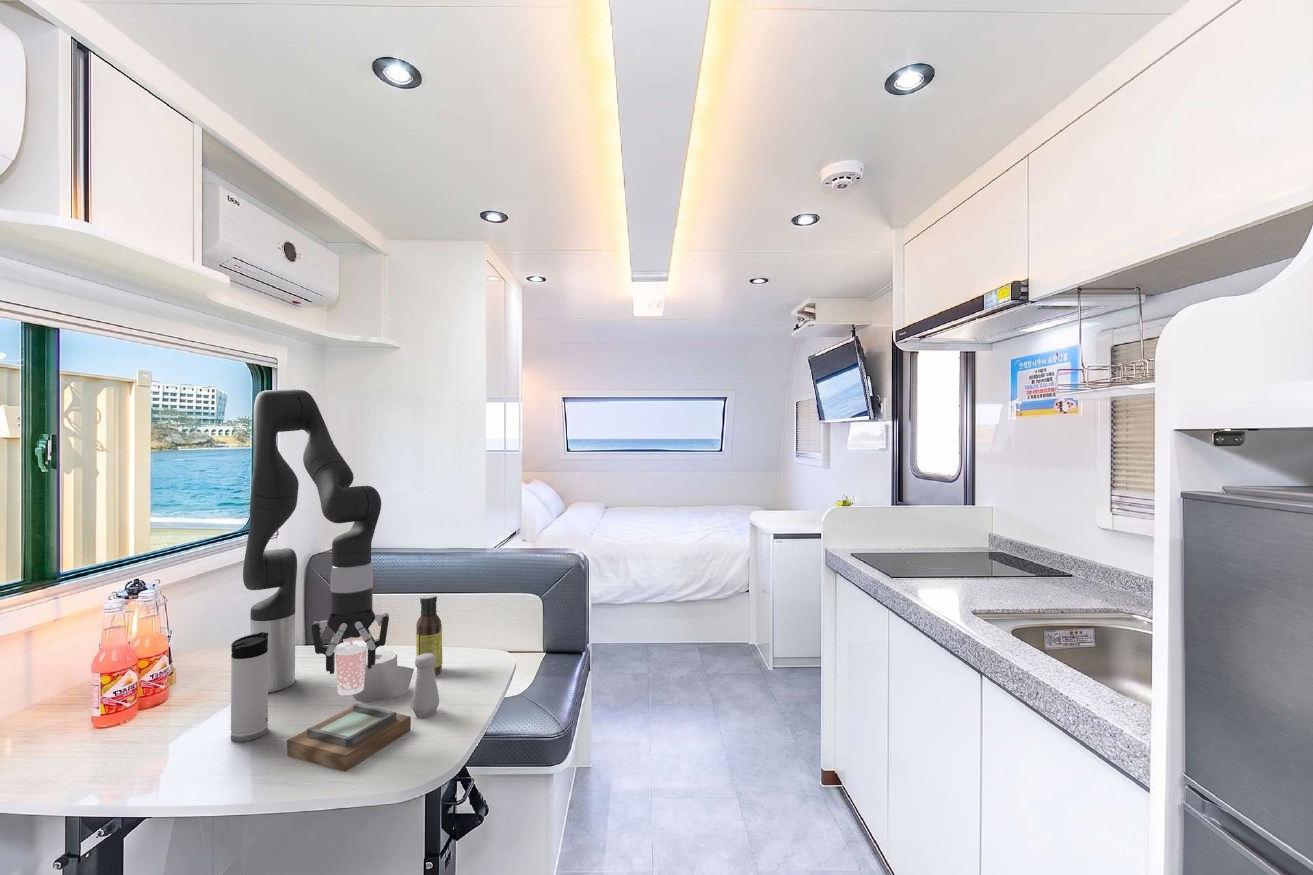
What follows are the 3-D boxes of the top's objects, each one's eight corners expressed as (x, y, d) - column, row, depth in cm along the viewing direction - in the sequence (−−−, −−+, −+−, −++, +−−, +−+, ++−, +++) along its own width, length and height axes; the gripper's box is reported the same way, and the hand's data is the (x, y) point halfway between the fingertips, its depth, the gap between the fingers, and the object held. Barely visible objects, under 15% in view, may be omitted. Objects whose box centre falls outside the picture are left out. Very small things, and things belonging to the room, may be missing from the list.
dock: (287, 755, 112) (287, 732, 112) (356, 718, 127) (356, 697, 127) (345, 771, 107) (345, 747, 107) (410, 730, 122) (410, 709, 122)
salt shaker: (429, 721, 126) (429, 661, 126) (405, 718, 127) (405, 659, 127) (444, 709, 132) (444, 651, 132) (421, 706, 133) (421, 649, 133)
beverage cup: (349, 699, 113) (350, 627, 113) (326, 694, 115) (326, 623, 115) (375, 686, 119) (375, 617, 119) (352, 682, 121) (352, 614, 121)
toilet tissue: (415, 693, 140) (415, 657, 140) (352, 704, 134) (352, 667, 134) (412, 679, 148) (412, 645, 148) (353, 689, 142) (353, 653, 142)
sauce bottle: (447, 671, 153) (447, 595, 153) (427, 680, 147) (428, 601, 147) (430, 666, 156) (430, 591, 156) (410, 675, 151) (410, 597, 150)
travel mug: (276, 729, 122) (277, 633, 122) (245, 745, 116) (245, 644, 116) (255, 724, 125) (255, 630, 124) (223, 739, 118) (223, 640, 118)
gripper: (307, 594, 111) (307, 683, 111) (391, 587, 117) (390, 671, 117) (312, 585, 118) (312, 669, 118) (391, 578, 124) (390, 658, 124)
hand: (351, 669), depth 117 cm, fingers closed on beverage cup, 6 cm apart
